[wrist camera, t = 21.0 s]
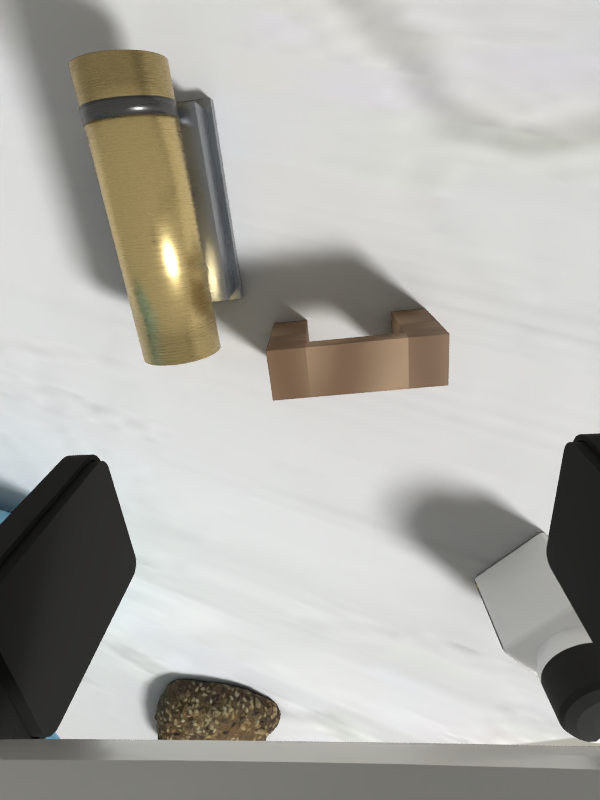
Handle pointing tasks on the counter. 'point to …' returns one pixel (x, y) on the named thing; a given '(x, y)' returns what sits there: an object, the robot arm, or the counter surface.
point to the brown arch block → (358, 359)
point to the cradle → (210, 197)
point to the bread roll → (214, 713)
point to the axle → (148, 200)
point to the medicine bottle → (545, 635)
